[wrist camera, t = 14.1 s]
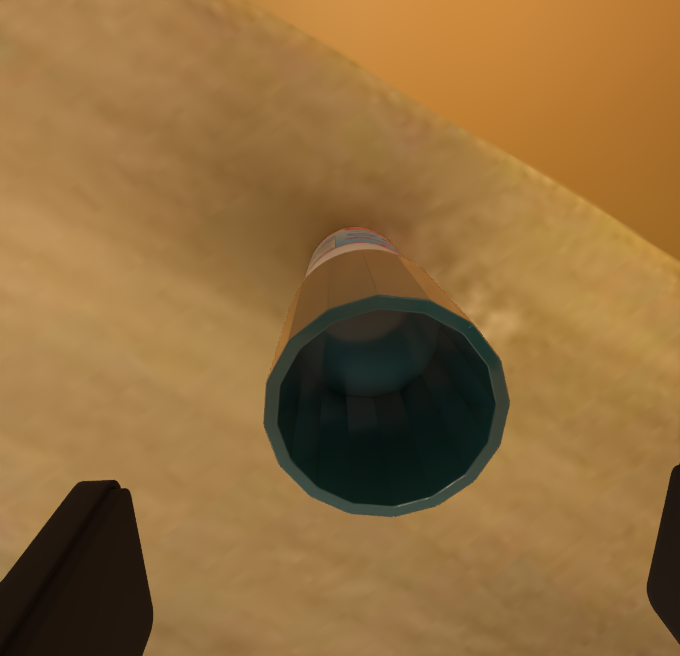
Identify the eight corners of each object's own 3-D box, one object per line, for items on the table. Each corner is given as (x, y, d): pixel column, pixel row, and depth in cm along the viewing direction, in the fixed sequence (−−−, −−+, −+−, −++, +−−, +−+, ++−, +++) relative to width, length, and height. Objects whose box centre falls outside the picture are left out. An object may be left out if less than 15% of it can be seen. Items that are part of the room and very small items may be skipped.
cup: (261, 357, 22) (224, 459, 14) (334, 219, 20) (337, 249, 12) (394, 422, 23) (426, 548, 15) (475, 296, 21) (556, 368, 14)
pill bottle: (420, 264, 32) (464, 311, 21) (361, 335, 33) (376, 413, 23) (345, 205, 31) (353, 224, 20) (288, 281, 32) (267, 338, 22)
